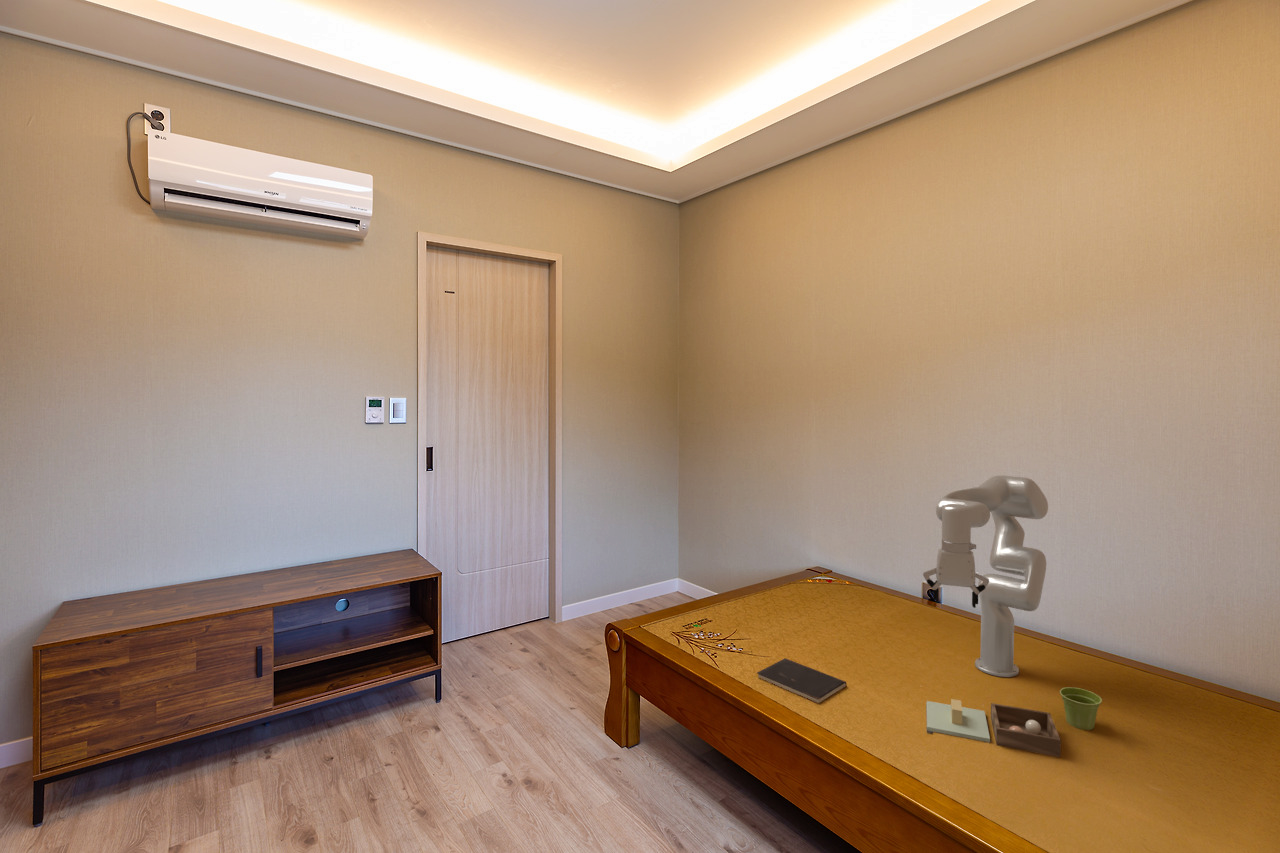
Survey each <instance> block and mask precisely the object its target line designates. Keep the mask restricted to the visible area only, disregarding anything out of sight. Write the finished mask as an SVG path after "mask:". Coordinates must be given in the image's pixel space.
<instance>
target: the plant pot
mask: <svg viewBox="0 0 1280 853" xmlns="http://www.w3.org/2000/svg"><path fill="white" fill-rule="evenodd" d="M1059 694H1060V696H1061V699H1062V701H1063V708H1064V713H1065V721H1066V723H1067V724H1068V725H1070V726H1071V727H1073V728H1076V729H1079V730H1083V731H1084V730H1085V731H1090V730H1091V731H1092V730H1094V728H1095V724H1096V718H1097V714H1098V710H1099V707H1100V704H1102V702H1103V699H1102V697H1101V696H1100V695H1098V694H1096V693H1095V692H1093V691H1090V690H1087V689H1083V688H1079V687H1071V686H1070V687H1069V686H1067V687H1062V688H1061V689H1059Z"/></svg>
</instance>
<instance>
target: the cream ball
mask: <svg viewBox="0 0 1280 853" xmlns="http://www.w3.org/2000/svg"><path fill="white" fill-rule="evenodd" d="M1025 727H1026V730H1027V731H1028V732H1029V733H1032V734H1039V733H1040V732H1041V726H1040V724H1039V723H1038V722H1037V721H1035V720H1028V721H1027V722H1026V724H1025Z"/></svg>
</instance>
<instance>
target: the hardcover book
mask: <svg viewBox="0 0 1280 853" xmlns="http://www.w3.org/2000/svg"><path fill="white" fill-rule="evenodd" d="M756 674H757V675H758V677H759V678H758V679H760V678H761V680H763V681H765V680H766V681H765V682H767V681H768V683H770V684H772V683H773V684H772V685H774V684H775V685H774V686H777V687H780V688H781V687H782V689H784V690H786V691H788V690H789V691H788V692H790V693H793V694H795V693H796V694H795V695H798V696H800V695H801V697H802V696H803V697H802V698H804V697H805V699H807V698H808V699H807V700H809V699H810V700H809V701H811V700H812V702H814V703H816V702H817V703H816V704H820V703H822V702H823V701H825V700H826V699H827V698H828V699H829V697H831V696H832V695H834V694H836V693H837V692H838V691H841V690H842V689H844V688H846V687H847V681H845V680H842V679H840V678H837V677H835V676H832V675H829V674H828V673H824V672H822V671H819V670H817V669H814V668H812V667H808V666H807V665H804V664H801V663H800V662H796V661H795V660H794V661H793V660H791V659H788V658H786V657H785V658H783V659H781V660H779V661H777V662H774V664H773V663H772V664H771V665H769V666H767V667H765V668H763V669H761V670H760V671H758V672H756Z"/></svg>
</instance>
